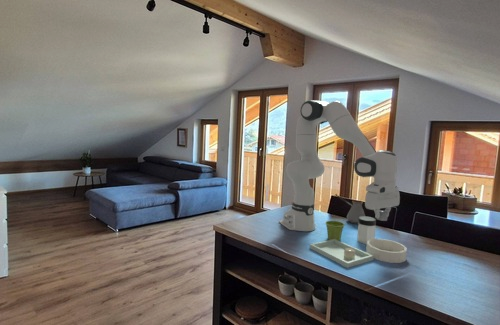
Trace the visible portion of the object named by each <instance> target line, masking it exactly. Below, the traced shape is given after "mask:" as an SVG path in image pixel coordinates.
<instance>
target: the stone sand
mask: <svg viewBox="0 0 500 325" xmlns="http://www.w3.org/2000/svg"><path fill="white" fill-rule="evenodd" d="M344 258H345V259H346V260H354V259H355V250H354V249H351V248H345V249H344Z"/></svg>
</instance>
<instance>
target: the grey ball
mask: <svg viewBox="0 0 500 325" xmlns="http://www.w3.org/2000/svg"><path fill="white" fill-rule="evenodd" d="M379 213H380V214H381V217H380V218H376V221H377V220H378V221H383V222H387V221H388V217H389V216H388V212H387V211H385V210H381V209H380V211H379Z"/></svg>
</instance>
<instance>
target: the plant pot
mask: <svg viewBox="0 0 500 325" xmlns="http://www.w3.org/2000/svg"><path fill="white" fill-rule="evenodd" d="M325 225H326V230H327V239H328V240H332V239H336V240H338V241H341V239H342V233H343V229H344V226H345V223H344V222H342V221H339V220H337V221H336V220H327V221H325Z"/></svg>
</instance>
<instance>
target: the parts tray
mask: <svg viewBox="0 0 500 325" xmlns="http://www.w3.org/2000/svg"><path fill="white" fill-rule="evenodd" d="M345 248H351V249H354V250H355V259H354V260H346V259H345V258H344V249H345ZM309 249H311V250H312V251H314V252H316V253H318V254H320V255H322V256H324V257H325V258H327V259H329V260H332V261H333V262H334V263H337V264H339V265H341V266H342V267H344V268H346V269H348V268H352V267H355V266H358V265H362V264H365V263H369V262H371V261H374V258H373V255H371V254H368V253H366V251H364V250H361V249H359V248H356V247H354V246H352V245H349V244H347V243H345V242H344V241H341V240H340V241H338V240H336V239H332V240H329V239H328V240H324V241H319V242H314V243H310V244H309Z"/></svg>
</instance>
